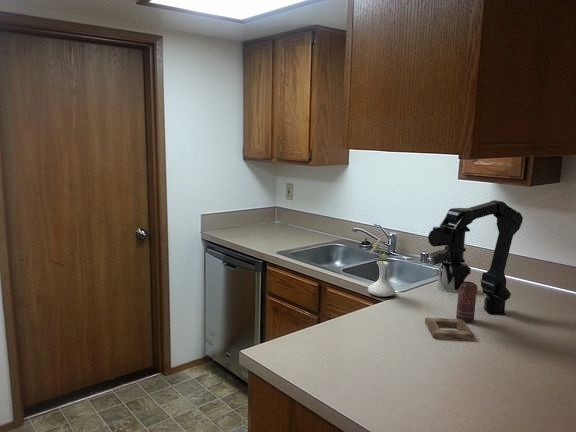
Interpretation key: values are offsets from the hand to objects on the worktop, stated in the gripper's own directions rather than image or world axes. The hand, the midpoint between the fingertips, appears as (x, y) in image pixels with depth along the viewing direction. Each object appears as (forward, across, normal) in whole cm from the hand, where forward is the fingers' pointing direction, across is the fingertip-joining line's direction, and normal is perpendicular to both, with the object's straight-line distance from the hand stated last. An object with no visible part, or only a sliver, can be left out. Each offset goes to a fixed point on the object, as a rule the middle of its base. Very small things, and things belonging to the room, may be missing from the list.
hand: (452, 285), depth 168 cm
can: (+13, 0, +5) cm, 14 cm away
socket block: (+13, +11, -4) cm, 17 cm away
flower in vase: (+13, -24, -23) cm, 35 cm away
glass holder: (+13, -33, +6) cm, 36 cm away
